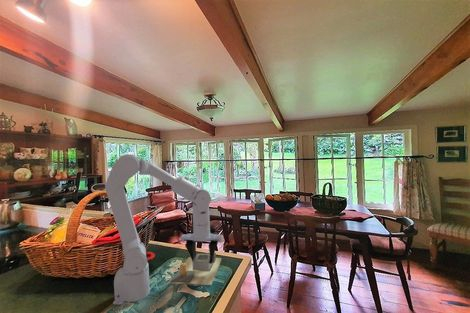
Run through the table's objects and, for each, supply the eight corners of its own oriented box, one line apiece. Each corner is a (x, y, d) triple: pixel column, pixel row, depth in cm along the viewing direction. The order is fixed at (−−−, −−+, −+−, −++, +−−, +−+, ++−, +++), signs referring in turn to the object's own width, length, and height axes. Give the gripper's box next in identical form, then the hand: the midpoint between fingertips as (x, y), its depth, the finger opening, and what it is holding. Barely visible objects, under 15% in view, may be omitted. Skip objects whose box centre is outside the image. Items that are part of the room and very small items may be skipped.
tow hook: (147, 252, 100) (127, 260, 92) (147, 224, 100) (127, 229, 92) (158, 257, 95) (139, 266, 87) (158, 227, 95) (138, 233, 87)
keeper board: (170, 286, 73) (169, 276, 73) (188, 259, 91) (188, 251, 91) (211, 287, 71) (211, 277, 71) (222, 260, 89) (221, 252, 89)
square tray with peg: (171, 281, 74) (170, 267, 74) (178, 271, 80) (177, 258, 80) (189, 282, 73) (188, 268, 73) (195, 271, 79) (194, 259, 79)
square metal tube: (192, 270, 74) (192, 261, 74) (197, 261, 80) (197, 253, 80) (208, 270, 74) (208, 261, 73) (212, 262, 79) (212, 253, 79)
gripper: (224, 219, 79) (225, 256, 80) (185, 219, 81) (186, 255, 82) (220, 226, 72) (221, 267, 73) (178, 225, 74) (179, 265, 75)
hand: (202, 261), depth 77 cm, fingers closed on square metal tube, 6 cm apart
